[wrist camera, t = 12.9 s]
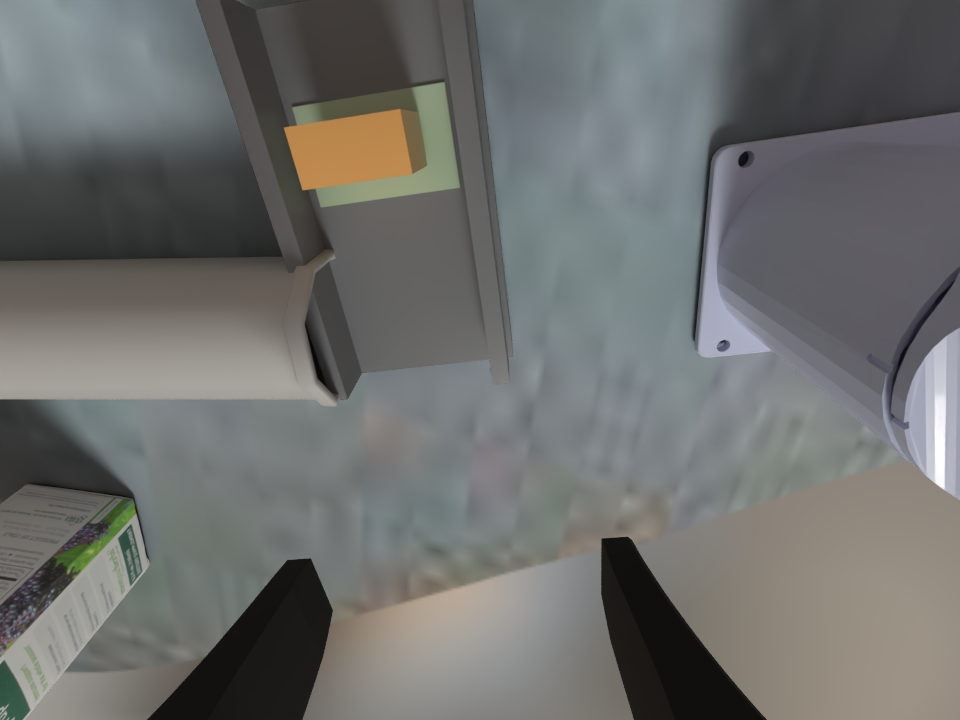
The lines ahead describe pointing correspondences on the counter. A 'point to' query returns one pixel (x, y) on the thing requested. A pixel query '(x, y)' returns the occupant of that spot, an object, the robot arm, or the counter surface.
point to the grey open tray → (382, 202)
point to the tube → (159, 329)
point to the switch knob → (357, 148)
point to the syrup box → (59, 582)
